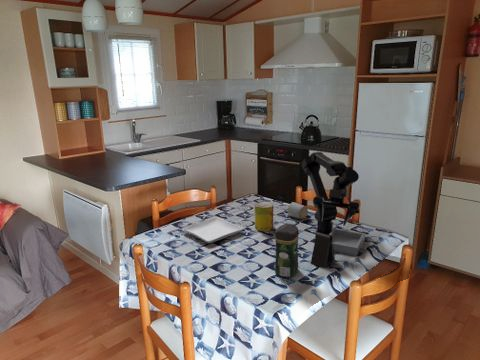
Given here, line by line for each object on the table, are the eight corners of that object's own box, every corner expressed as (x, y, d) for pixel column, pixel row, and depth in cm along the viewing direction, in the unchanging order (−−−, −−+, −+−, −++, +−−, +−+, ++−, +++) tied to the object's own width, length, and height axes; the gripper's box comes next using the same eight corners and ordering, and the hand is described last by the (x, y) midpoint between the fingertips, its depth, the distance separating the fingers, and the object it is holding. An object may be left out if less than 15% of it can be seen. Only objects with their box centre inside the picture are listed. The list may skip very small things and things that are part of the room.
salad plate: (208, 248, 164) (208, 240, 163) (182, 234, 180) (181, 227, 179) (244, 234, 178) (244, 227, 177) (217, 222, 193) (216, 216, 192)
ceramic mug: (300, 221, 191) (300, 207, 189) (287, 217, 197) (287, 203, 195) (311, 216, 199) (311, 202, 197) (298, 212, 204) (298, 199, 202)
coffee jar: (281, 264, 148) (281, 220, 143) (300, 268, 144) (301, 223, 139) (271, 275, 139) (271, 229, 134) (292, 280, 136) (292, 233, 131)
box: (323, 249, 160) (323, 241, 159) (333, 235, 173) (333, 228, 172) (356, 255, 153) (357, 247, 152) (364, 241, 167) (364, 233, 166)
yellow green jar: (270, 232, 179) (270, 208, 176) (252, 230, 182) (252, 206, 179) (275, 225, 187) (275, 202, 184) (258, 223, 190) (257, 201, 187)
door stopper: (324, 268, 144) (325, 239, 141) (310, 263, 148) (311, 235, 144) (335, 259, 150) (336, 232, 147) (321, 255, 154) (322, 228, 151)
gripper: (314, 178, 156) (306, 212, 149) (361, 183, 148) (354, 219, 142) (318, 190, 165) (311, 222, 158) (362, 196, 157) (356, 230, 151)
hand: (332, 223), depth 152 cm, fingers open, 9 cm apart
